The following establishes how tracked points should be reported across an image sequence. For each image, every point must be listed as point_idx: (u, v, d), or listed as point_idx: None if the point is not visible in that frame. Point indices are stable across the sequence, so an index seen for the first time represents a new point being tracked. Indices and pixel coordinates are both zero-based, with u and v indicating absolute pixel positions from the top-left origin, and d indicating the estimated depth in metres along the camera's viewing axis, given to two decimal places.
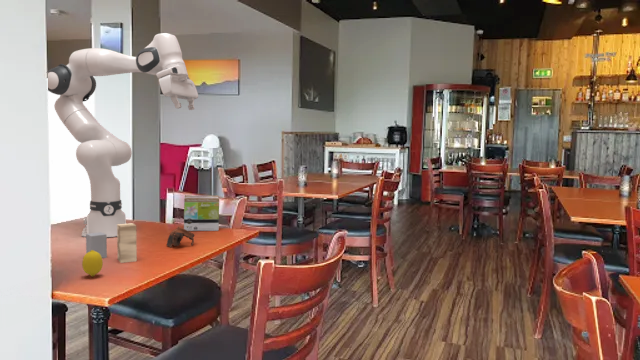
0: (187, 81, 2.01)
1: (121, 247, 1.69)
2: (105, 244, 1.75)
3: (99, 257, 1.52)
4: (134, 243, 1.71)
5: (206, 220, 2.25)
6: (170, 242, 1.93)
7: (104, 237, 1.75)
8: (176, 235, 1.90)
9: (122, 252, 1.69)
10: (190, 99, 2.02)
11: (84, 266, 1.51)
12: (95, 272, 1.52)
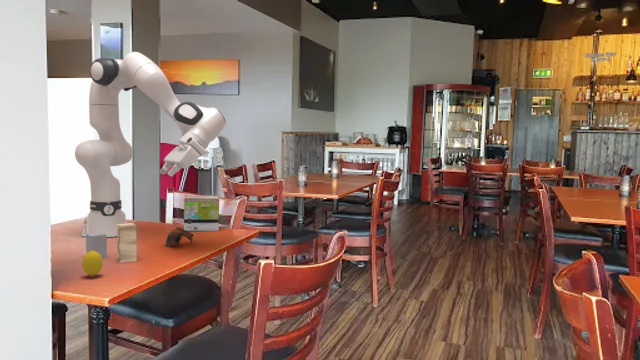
0: None
1: (121, 247, 1.69)
2: (105, 244, 1.75)
3: (99, 257, 1.52)
4: (134, 243, 1.71)
5: (206, 220, 2.25)
6: (169, 242, 1.93)
7: (104, 237, 1.75)
8: (175, 235, 1.90)
9: (122, 252, 1.69)
10: (169, 165, 1.86)
11: (84, 266, 1.51)
12: (95, 272, 1.52)
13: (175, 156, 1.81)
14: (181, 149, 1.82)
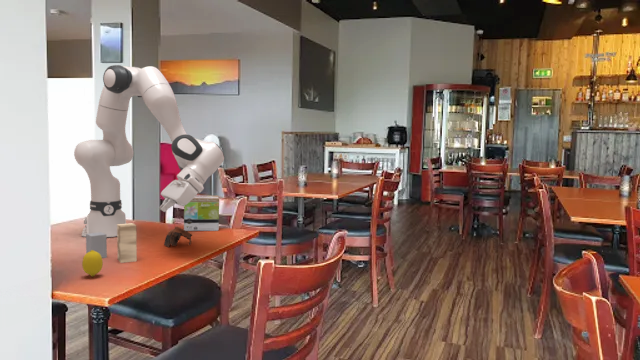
0: None
1: (121, 247, 1.69)
2: (105, 244, 1.75)
3: (99, 257, 1.52)
4: (134, 243, 1.71)
5: (206, 220, 2.25)
6: (168, 242, 1.93)
7: (104, 237, 1.75)
8: (174, 235, 1.90)
9: (122, 252, 1.69)
10: None
11: (84, 266, 1.51)
12: (95, 272, 1.52)
13: (172, 192, 1.78)
14: (178, 184, 1.80)
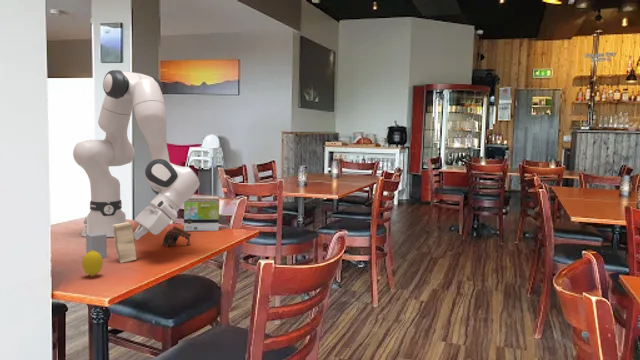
0: None
1: (119, 247, 1.69)
2: (105, 244, 1.75)
3: (99, 257, 1.52)
4: (132, 242, 1.71)
5: (206, 220, 2.25)
6: (166, 242, 1.93)
7: (104, 237, 1.75)
8: (172, 235, 1.90)
9: (121, 252, 1.69)
10: None
11: (84, 266, 1.51)
12: (95, 272, 1.52)
13: (145, 219, 1.74)
14: (152, 211, 1.76)
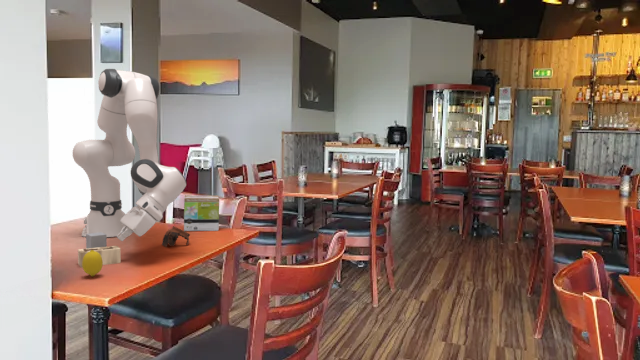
0: None
1: (103, 264, 1.67)
2: (105, 244, 1.75)
3: (99, 257, 1.52)
4: (100, 252, 1.66)
5: (206, 220, 2.25)
6: (165, 242, 1.93)
7: (104, 237, 1.75)
8: (171, 235, 1.90)
9: (109, 263, 1.68)
10: None
11: (84, 266, 1.51)
12: (95, 272, 1.52)
13: (130, 220, 1.72)
14: (137, 212, 1.73)
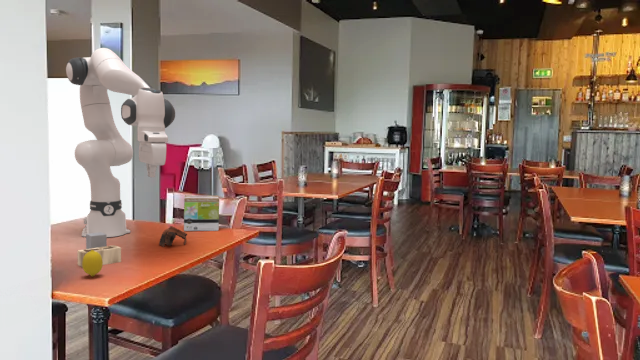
0: None
1: (105, 264, 1.67)
2: (105, 244, 1.75)
3: (99, 257, 1.52)
4: (102, 252, 1.66)
5: (206, 220, 2.25)
6: (163, 241, 1.94)
7: (104, 237, 1.75)
8: (169, 234, 1.91)
9: (110, 262, 1.68)
10: None
11: (84, 266, 1.51)
12: (95, 272, 1.52)
13: (146, 156, 1.74)
14: (146, 146, 1.74)
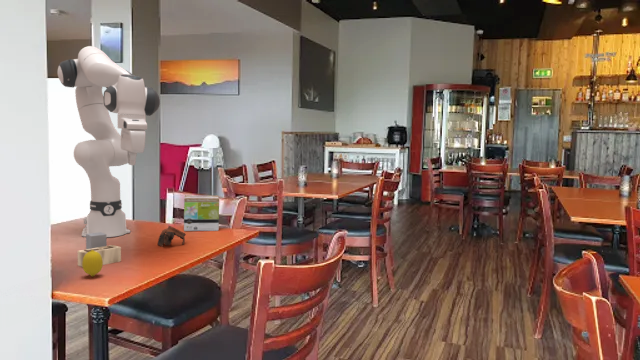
0: None
1: None
2: (105, 244, 1.75)
3: (99, 257, 1.52)
4: (103, 252, 1.66)
5: (206, 220, 2.25)
6: (161, 241, 1.94)
7: (104, 237, 1.75)
8: (167, 234, 1.91)
9: (111, 262, 1.69)
10: None
11: (84, 266, 1.51)
12: (95, 272, 1.52)
13: (126, 144, 1.72)
14: (126, 134, 1.72)
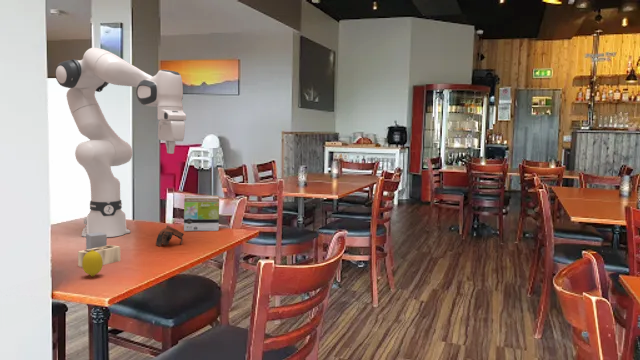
0: None
1: (107, 263, 1.68)
2: (105, 244, 1.75)
3: (99, 257, 1.52)
4: (104, 251, 1.67)
5: (206, 220, 2.25)
6: (159, 241, 1.94)
7: (104, 237, 1.75)
8: (165, 234, 1.91)
9: (111, 261, 1.69)
10: None
11: (84, 266, 1.51)
12: (95, 272, 1.52)
13: (166, 134, 1.86)
14: (165, 125, 1.86)
